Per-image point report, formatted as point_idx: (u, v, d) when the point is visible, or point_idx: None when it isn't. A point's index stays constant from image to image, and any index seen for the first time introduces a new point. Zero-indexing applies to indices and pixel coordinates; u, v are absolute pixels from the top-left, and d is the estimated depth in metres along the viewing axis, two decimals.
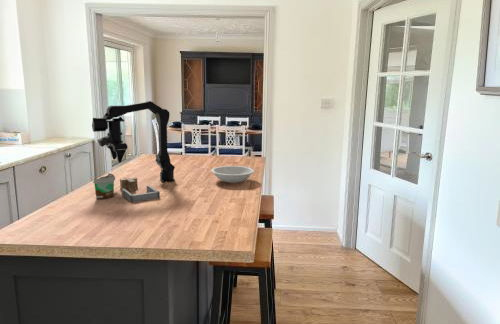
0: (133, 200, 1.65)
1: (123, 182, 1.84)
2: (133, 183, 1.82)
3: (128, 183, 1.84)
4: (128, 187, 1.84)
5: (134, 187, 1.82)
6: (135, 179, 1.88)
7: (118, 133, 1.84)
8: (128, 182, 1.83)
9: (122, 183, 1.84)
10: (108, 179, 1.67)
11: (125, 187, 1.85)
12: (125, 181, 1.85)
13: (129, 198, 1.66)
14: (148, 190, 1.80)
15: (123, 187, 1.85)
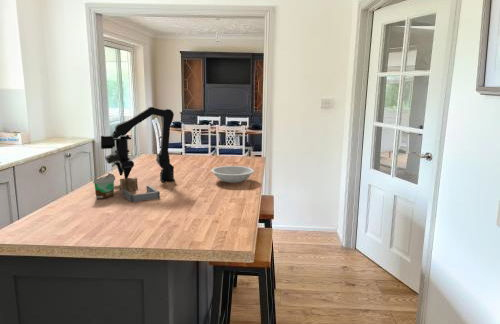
0: (133, 200, 1.65)
1: (123, 182, 1.84)
2: (133, 183, 1.82)
3: (128, 183, 1.84)
4: (128, 187, 1.84)
5: (134, 187, 1.82)
6: (135, 179, 1.88)
7: (125, 151, 1.90)
8: (128, 182, 1.83)
9: (122, 183, 1.84)
10: (108, 179, 1.67)
11: (125, 187, 1.85)
12: (125, 181, 1.85)
13: (129, 198, 1.66)
14: (148, 190, 1.80)
15: (123, 187, 1.85)
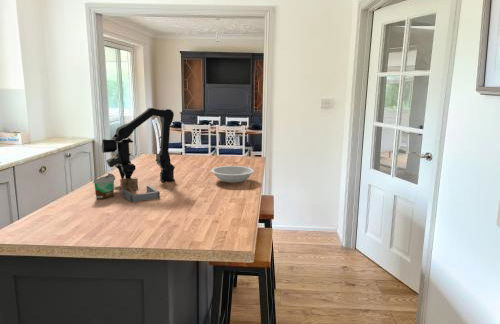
0: (133, 200, 1.65)
1: (123, 183, 1.84)
2: (133, 183, 1.81)
3: (128, 183, 1.83)
4: (128, 187, 1.84)
5: (134, 187, 1.82)
6: (135, 179, 1.87)
7: (127, 154, 1.88)
8: (128, 182, 1.83)
9: (122, 183, 1.84)
10: (108, 179, 1.67)
11: (125, 187, 1.85)
12: (125, 181, 1.84)
13: (129, 198, 1.66)
14: (148, 190, 1.80)
15: (123, 187, 1.84)
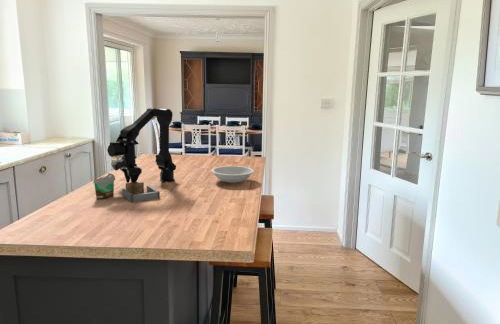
0: (133, 200, 1.65)
1: (129, 187, 1.76)
2: (139, 187, 1.74)
3: (134, 187, 1.76)
4: (134, 192, 1.76)
5: (140, 192, 1.74)
6: (141, 183, 1.80)
7: (132, 157, 1.81)
8: (134, 186, 1.75)
9: (128, 187, 1.76)
10: (108, 179, 1.67)
11: (131, 192, 1.77)
12: (131, 185, 1.77)
13: (129, 198, 1.66)
14: (148, 190, 1.80)
15: (129, 192, 1.77)
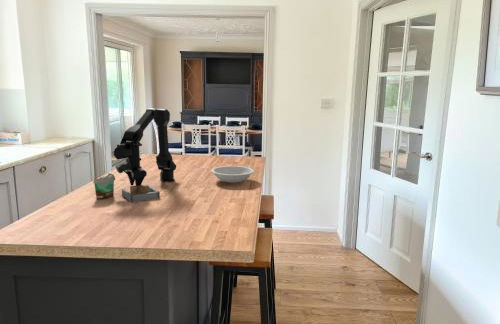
0: (133, 200, 1.65)
1: (133, 190, 1.71)
2: (144, 191, 1.68)
3: (139, 191, 1.70)
4: None
5: None
6: (146, 186, 1.74)
7: (137, 159, 1.75)
8: (139, 190, 1.70)
9: (132, 191, 1.71)
10: (108, 179, 1.67)
11: None
12: (136, 188, 1.72)
13: (129, 198, 1.66)
14: None
15: None
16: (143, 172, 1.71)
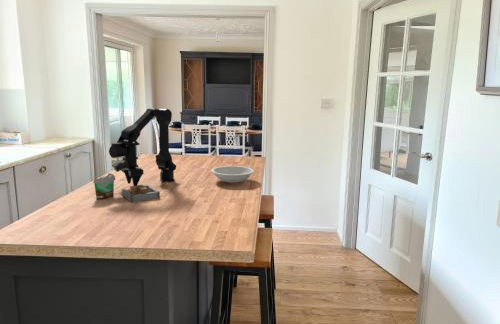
0: (133, 200, 1.65)
1: (134, 190, 1.71)
2: (144, 191, 1.68)
3: (139, 191, 1.70)
4: None
5: None
6: (146, 186, 1.74)
7: (134, 158, 1.79)
8: (139, 190, 1.70)
9: (132, 191, 1.71)
10: (108, 179, 1.67)
11: None
12: (136, 188, 1.72)
13: (129, 198, 1.66)
14: None
15: None
16: (140, 170, 1.75)
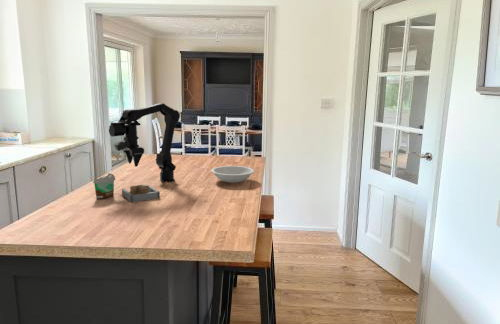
0: (133, 200, 1.65)
1: (134, 190, 1.71)
2: (144, 191, 1.68)
3: (139, 191, 1.70)
4: None
5: None
6: (146, 186, 1.74)
7: (134, 137, 1.84)
8: (139, 190, 1.70)
9: (132, 191, 1.71)
10: (108, 179, 1.67)
11: None
12: (136, 188, 1.72)
13: (129, 198, 1.66)
14: None
15: None
16: (141, 149, 1.80)
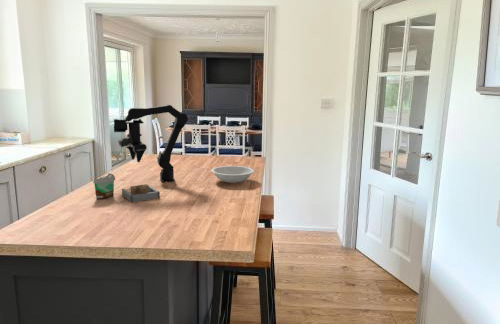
0: (133, 200, 1.65)
1: (134, 190, 1.71)
2: (144, 191, 1.68)
3: (139, 191, 1.70)
4: None
5: None
6: (146, 186, 1.74)
7: (138, 134, 1.93)
8: (139, 190, 1.70)
9: (132, 191, 1.71)
10: (108, 179, 1.67)
11: None
12: (136, 188, 1.72)
13: (129, 198, 1.66)
14: None
15: None
16: (143, 146, 1.89)
